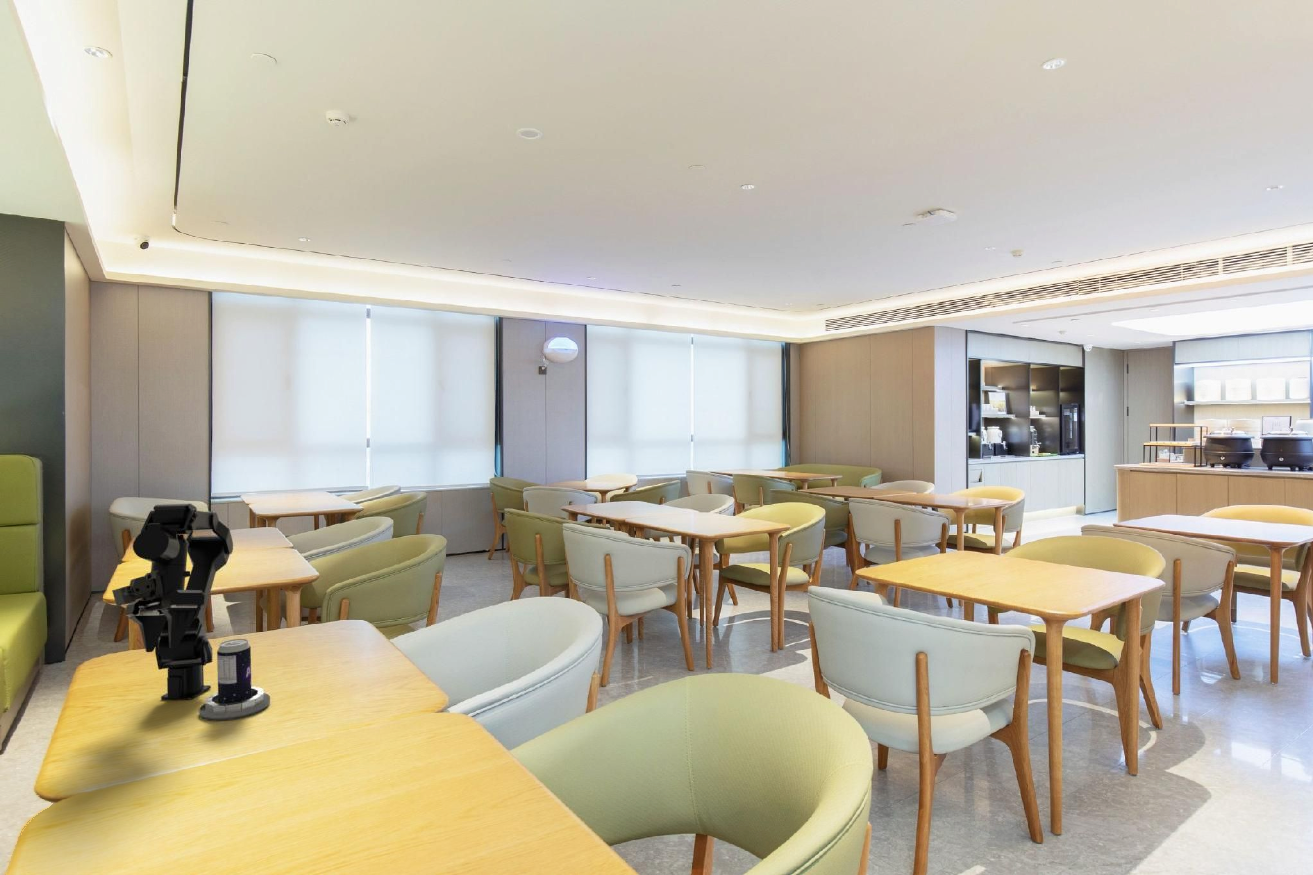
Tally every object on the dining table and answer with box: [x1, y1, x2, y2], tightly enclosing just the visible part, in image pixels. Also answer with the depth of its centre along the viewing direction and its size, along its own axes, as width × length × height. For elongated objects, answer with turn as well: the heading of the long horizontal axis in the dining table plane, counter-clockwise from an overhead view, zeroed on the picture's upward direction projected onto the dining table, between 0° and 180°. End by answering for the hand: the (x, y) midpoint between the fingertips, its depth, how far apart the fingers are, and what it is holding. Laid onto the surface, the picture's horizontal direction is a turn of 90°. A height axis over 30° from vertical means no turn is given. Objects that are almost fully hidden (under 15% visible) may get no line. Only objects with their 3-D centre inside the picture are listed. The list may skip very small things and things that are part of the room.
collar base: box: [198, 686, 271, 722], centre depth 143 cm, size 12×12×2 cm
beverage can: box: [216, 638, 252, 704], centre depth 143 cm, size 6×6×12 cm
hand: (161, 650), depth 138 cm, fingers open, 9 cm apart
